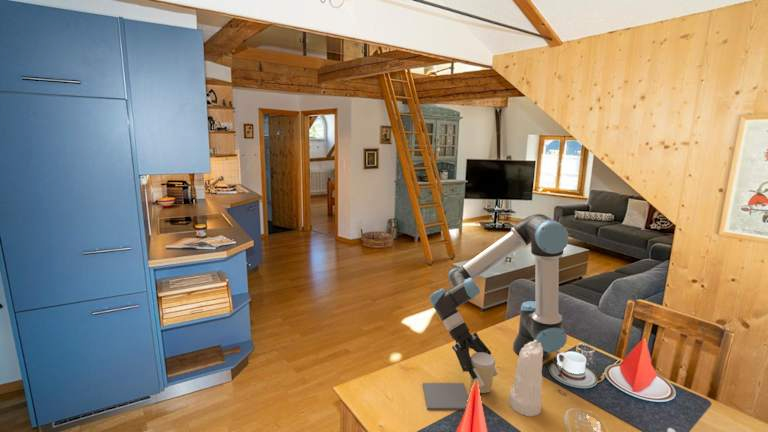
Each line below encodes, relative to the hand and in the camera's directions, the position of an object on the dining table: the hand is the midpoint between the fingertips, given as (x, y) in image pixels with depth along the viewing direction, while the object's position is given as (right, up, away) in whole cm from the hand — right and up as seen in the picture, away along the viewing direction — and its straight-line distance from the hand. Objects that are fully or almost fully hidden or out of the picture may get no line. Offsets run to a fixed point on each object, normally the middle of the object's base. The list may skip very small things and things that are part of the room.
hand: (488, 380), depth 148 cm
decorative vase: (+12, -7, -5) cm, 15 cm away
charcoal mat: (-16, -6, -1) cm, 17 cm away
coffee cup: (-2, -4, +3) cm, 6 cm away
